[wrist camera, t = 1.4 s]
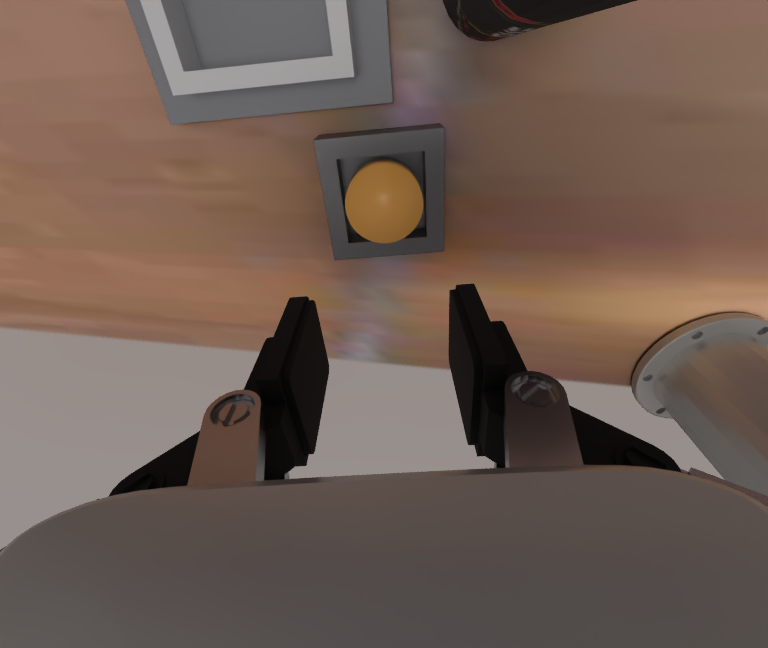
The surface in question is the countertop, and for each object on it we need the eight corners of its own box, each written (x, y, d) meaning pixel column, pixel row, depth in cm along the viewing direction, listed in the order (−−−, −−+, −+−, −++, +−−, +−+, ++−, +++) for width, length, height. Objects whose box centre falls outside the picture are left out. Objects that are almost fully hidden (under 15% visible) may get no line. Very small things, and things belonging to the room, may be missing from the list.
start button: (419, 154, 24) (422, 160, 22) (421, 229, 27) (424, 240, 25) (342, 161, 24) (339, 168, 22) (352, 235, 27) (350, 246, 25)
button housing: (439, 123, 24) (444, 127, 22) (440, 239, 29) (443, 251, 27) (318, 135, 24) (313, 140, 23) (337, 248, 29) (334, 260, 27)
